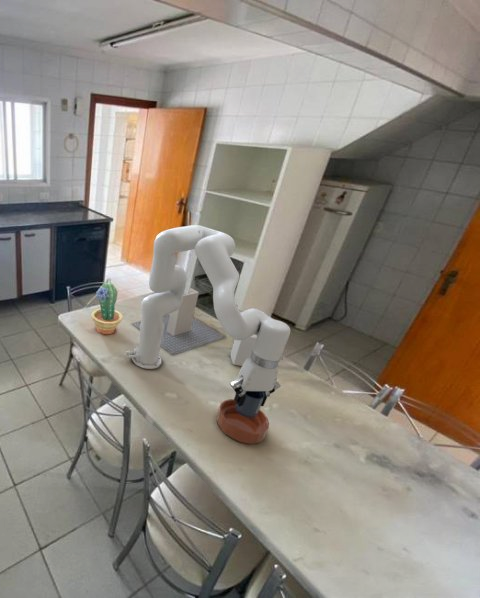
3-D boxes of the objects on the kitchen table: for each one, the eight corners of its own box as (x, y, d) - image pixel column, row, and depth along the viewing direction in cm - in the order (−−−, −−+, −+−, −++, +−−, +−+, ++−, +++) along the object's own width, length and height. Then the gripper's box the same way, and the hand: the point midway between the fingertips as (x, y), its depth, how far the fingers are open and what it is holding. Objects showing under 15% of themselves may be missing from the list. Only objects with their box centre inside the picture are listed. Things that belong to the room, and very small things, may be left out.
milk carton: (250, 367, 141) (263, 330, 133) (233, 365, 142) (245, 327, 134) (246, 358, 147) (258, 321, 139) (229, 355, 148) (241, 319, 140)
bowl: (228, 445, 104) (232, 433, 102) (209, 409, 118) (212, 398, 116) (273, 444, 105) (278, 433, 103) (249, 409, 119) (253, 399, 116)
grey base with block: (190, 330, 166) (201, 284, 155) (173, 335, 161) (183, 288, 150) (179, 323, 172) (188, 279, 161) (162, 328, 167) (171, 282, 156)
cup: (241, 418, 105) (247, 399, 101) (231, 402, 111) (237, 384, 107) (261, 418, 105) (269, 399, 102) (250, 402, 111) (257, 384, 108)
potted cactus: (86, 323, 168) (89, 278, 157) (114, 320, 172) (118, 276, 161) (96, 339, 155) (100, 291, 144) (126, 335, 159) (132, 289, 148)
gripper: (284, 351, 103) (267, 395, 111) (231, 351, 102) (217, 395, 110) (300, 366, 96) (280, 411, 104) (242, 366, 95) (227, 411, 103)
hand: (248, 402), depth 107 cm, fingers closed on cup, 6 cm apart
